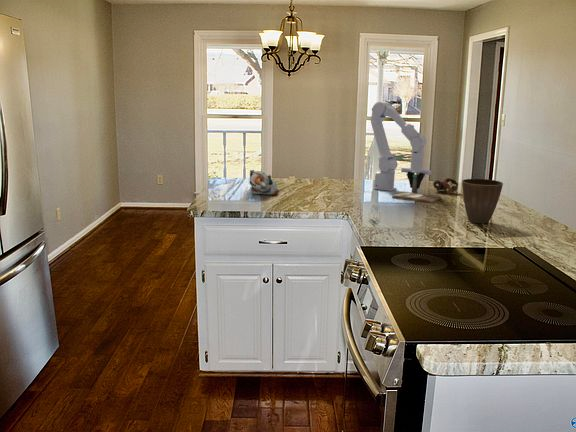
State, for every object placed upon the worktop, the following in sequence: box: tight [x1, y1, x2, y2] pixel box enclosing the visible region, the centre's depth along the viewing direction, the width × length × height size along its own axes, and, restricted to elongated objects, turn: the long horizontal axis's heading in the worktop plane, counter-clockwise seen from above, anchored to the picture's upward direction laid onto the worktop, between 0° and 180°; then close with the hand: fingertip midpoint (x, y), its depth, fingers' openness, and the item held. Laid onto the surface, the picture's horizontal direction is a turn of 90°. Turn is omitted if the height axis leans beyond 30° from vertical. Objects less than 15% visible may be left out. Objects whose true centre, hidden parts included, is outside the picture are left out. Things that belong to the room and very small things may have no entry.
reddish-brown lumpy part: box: [432, 177, 459, 195], centre depth 271 cm, size 12×10×8 cm
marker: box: [411, 173, 419, 193], centre depth 267 cm, size 3×3×9 cm
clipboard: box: [392, 191, 442, 204], centre depth 256 cm, size 19×14×1 cm
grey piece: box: [249, 169, 280, 196], centre depth 255 cm, size 15×12×14 cm
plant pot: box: [461, 178, 504, 224], centre depth 210 cm, size 15×15×16 cm
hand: (414, 187), depth 268 cm, fingers closed on marker, 3 cm apart
